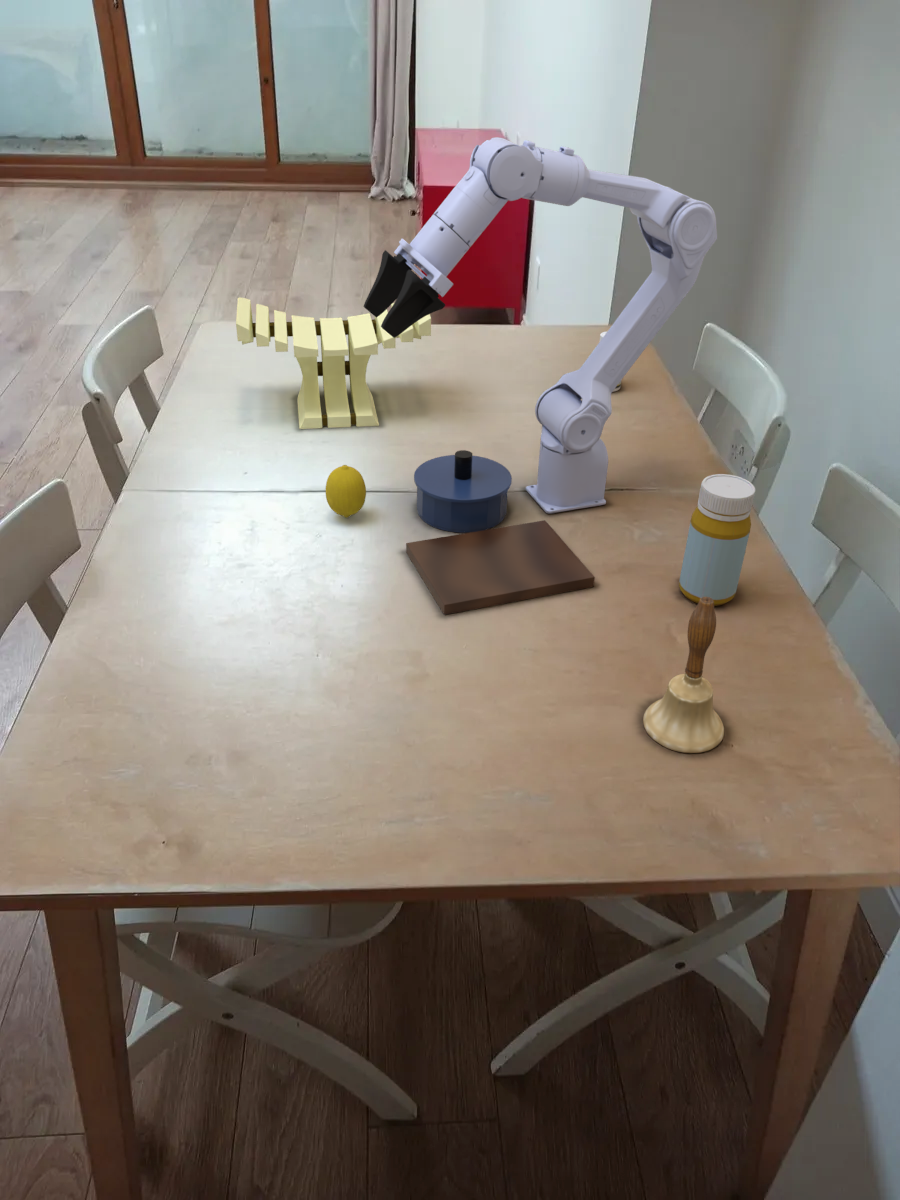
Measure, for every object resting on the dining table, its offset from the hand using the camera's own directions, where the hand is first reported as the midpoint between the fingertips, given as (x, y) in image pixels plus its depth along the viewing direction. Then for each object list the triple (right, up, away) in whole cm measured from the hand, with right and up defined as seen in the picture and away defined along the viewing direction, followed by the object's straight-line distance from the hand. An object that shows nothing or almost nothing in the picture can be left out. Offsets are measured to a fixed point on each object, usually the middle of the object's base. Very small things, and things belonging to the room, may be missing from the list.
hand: (378, 322), depth 118 cm
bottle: (+41, -33, +4) cm, 53 cm away
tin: (+10, -21, +20) cm, 31 cm away
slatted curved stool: (-11, -1, +49) cm, 50 cm away
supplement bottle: (+37, +5, +59) cm, 70 cm away
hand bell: (+33, -47, -16) cm, 60 cm away
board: (+15, -30, +8) cm, 34 cm away
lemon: (-6, -22, +18) cm, 29 cm away
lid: (+10, -17, +17) cm, 26 cm away
